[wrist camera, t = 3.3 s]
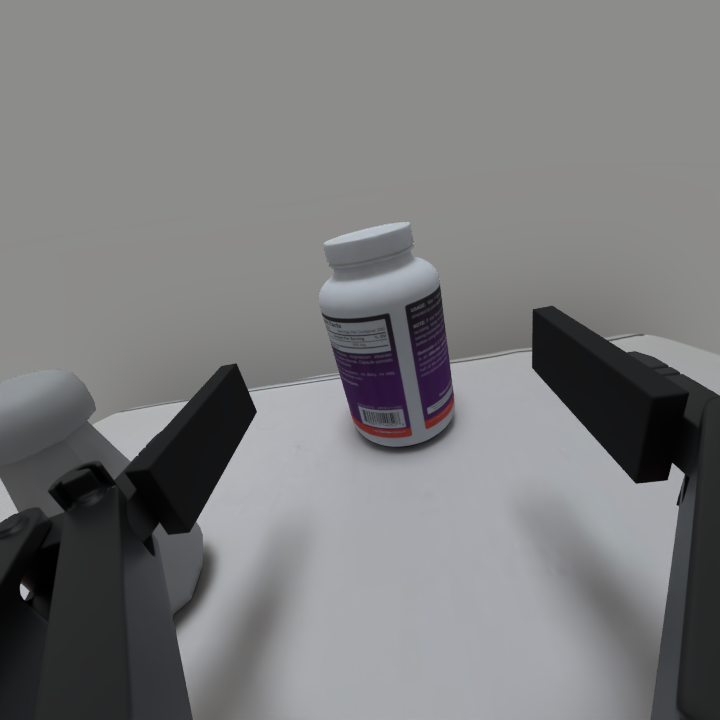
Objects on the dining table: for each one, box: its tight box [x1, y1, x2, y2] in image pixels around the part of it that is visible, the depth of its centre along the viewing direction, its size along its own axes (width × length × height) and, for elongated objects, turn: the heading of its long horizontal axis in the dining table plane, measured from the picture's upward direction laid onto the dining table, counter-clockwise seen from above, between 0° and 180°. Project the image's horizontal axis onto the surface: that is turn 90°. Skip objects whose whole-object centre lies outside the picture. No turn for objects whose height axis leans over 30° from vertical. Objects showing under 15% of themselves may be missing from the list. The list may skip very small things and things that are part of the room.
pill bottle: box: [319, 222, 455, 447], centre depth 24 cm, size 8×8×14 cm
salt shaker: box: [0, 369, 203, 615], centre depth 15 cm, size 6×6×13 cm
